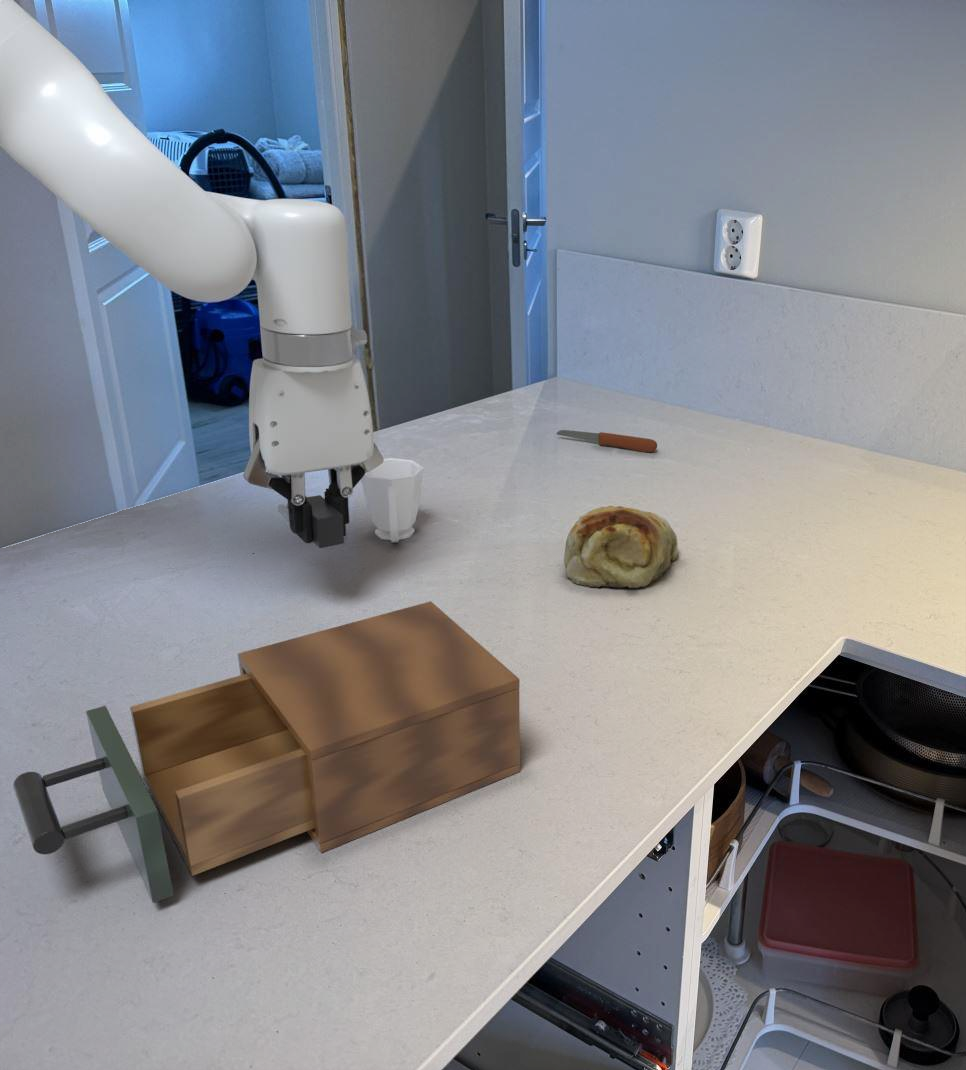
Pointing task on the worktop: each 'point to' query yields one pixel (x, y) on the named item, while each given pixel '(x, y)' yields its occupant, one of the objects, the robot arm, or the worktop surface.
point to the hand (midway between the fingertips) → (320, 533)
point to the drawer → (187, 781)
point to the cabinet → (390, 716)
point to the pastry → (619, 548)
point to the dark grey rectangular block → (322, 522)
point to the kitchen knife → (613, 440)
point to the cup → (393, 497)
